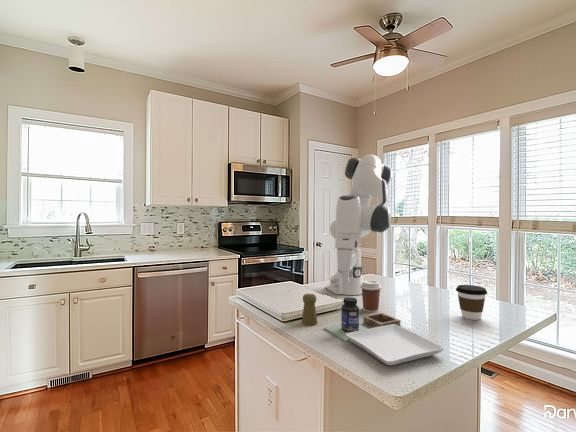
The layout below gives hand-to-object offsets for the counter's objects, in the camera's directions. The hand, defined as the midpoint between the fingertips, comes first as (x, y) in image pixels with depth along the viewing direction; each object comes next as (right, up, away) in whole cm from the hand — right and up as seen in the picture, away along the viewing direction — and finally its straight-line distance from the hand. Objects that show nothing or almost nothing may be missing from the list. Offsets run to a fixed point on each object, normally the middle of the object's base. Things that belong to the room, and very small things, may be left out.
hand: (347, 280), depth 110 cm
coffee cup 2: (+52, -18, +15) cm, 57 cm away
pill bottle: (+1, -18, 0) cm, 18 cm away
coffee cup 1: (+15, -18, +25) cm, 34 cm away
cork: (-13, -18, +9) cm, 24 cm away
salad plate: (+11, -19, -14) cm, 26 cm away
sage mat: (+1, -18, 0) cm, 18 cm away
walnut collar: (+14, -18, +7) cm, 24 cm away
